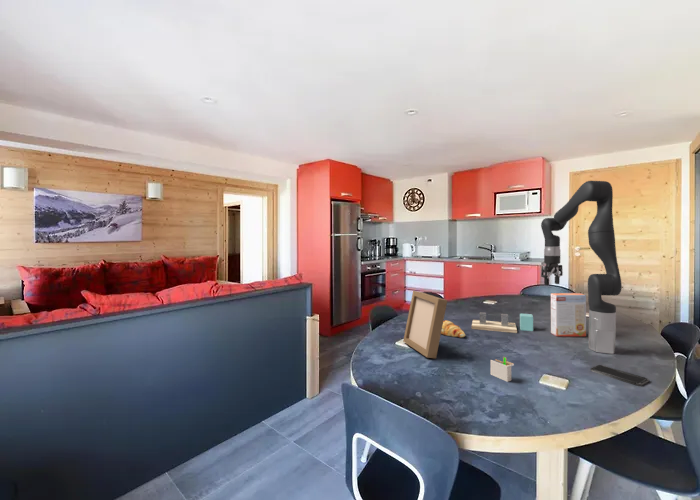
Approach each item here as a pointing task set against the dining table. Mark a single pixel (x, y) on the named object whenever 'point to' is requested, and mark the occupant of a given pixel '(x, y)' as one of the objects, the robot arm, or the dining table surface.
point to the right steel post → (504, 320)
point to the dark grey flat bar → (620, 375)
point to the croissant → (451, 329)
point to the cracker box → (568, 314)
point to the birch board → (494, 326)
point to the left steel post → (483, 318)
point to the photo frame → (425, 323)
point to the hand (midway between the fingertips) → (551, 284)
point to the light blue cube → (526, 322)
